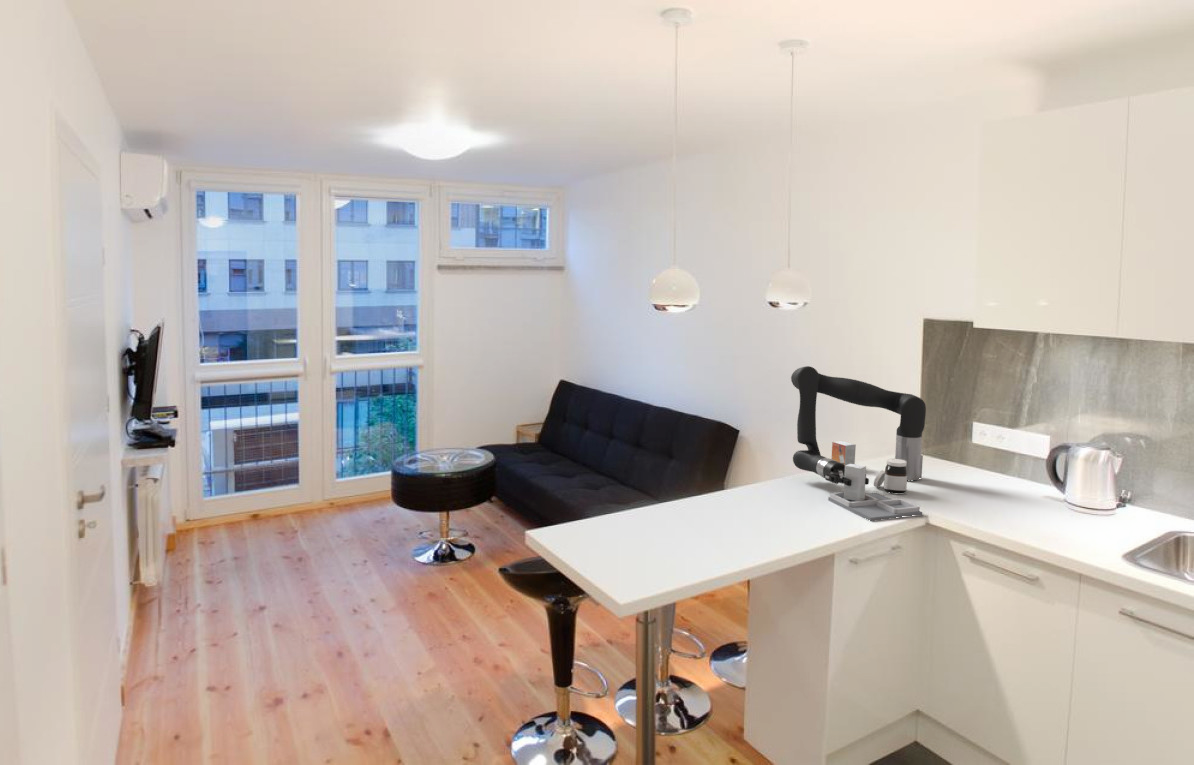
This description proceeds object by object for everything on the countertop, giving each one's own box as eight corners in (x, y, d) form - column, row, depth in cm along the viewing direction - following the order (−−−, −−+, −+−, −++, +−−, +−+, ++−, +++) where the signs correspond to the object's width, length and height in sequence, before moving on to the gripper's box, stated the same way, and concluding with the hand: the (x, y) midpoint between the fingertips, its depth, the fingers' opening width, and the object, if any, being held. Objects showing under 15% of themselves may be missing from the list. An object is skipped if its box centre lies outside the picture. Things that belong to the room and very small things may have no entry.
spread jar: (907, 496, 267) (909, 464, 266) (874, 493, 271) (875, 462, 269) (904, 487, 279) (906, 457, 277) (872, 484, 282) (874, 455, 280)
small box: (830, 466, 310) (831, 441, 309) (841, 464, 313) (842, 440, 311) (844, 470, 303) (845, 445, 302) (854, 469, 305) (856, 444, 304)
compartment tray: (876, 495, 268) (876, 488, 268) (922, 515, 245) (922, 507, 245) (828, 500, 263) (828, 492, 262) (870, 521, 240) (870, 513, 239)
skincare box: (865, 499, 257) (866, 466, 255) (859, 502, 254) (861, 468, 252) (848, 495, 261) (850, 463, 260) (842, 498, 258) (844, 465, 257)
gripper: (814, 461, 268) (841, 473, 252) (848, 458, 272) (877, 470, 256) (813, 481, 269) (840, 494, 253) (847, 478, 273) (876, 491, 257)
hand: (859, 482), depth 255 cm, fingers closed on skincare box, 6 cm apart
